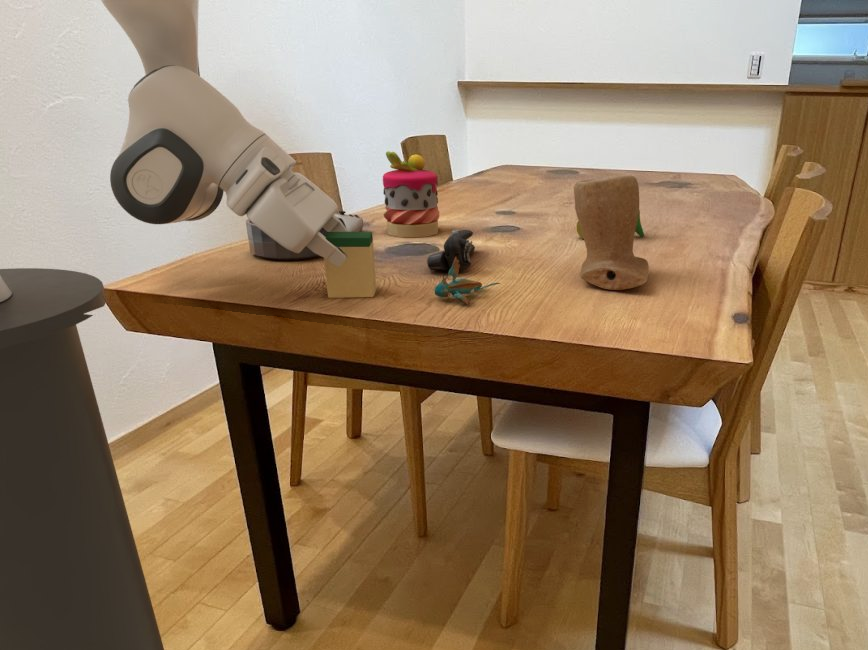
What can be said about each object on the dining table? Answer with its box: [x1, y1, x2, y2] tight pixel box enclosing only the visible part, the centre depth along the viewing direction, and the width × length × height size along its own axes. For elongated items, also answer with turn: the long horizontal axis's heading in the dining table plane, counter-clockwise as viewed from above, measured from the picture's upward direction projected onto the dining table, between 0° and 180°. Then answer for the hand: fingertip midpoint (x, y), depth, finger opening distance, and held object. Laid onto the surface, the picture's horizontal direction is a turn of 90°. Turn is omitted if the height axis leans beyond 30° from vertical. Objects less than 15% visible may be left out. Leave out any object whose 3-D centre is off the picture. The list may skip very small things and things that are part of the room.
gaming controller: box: [334, 210, 364, 232], centre depth 126 cm, size 11×6×7 cm
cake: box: [382, 151, 440, 238], centre depth 126 cm, size 10×11×15 cm
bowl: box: [245, 218, 327, 261], centre depth 111 cm, size 14×14×6 cm
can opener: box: [426, 229, 476, 271], centre depth 106 cm, size 18×7×6 cm, turn 171°
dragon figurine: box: [433, 257, 501, 305], centre depth 89 cm, size 6×7×8 cm
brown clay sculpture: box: [573, 174, 650, 291], centre depth 96 cm, size 15×12×15 cm
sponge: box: [323, 231, 377, 299], centre depth 89 cm, size 6×4×8 cm, turn 95°
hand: (348, 253), depth 88 cm, fingers open, 8 cm apart
